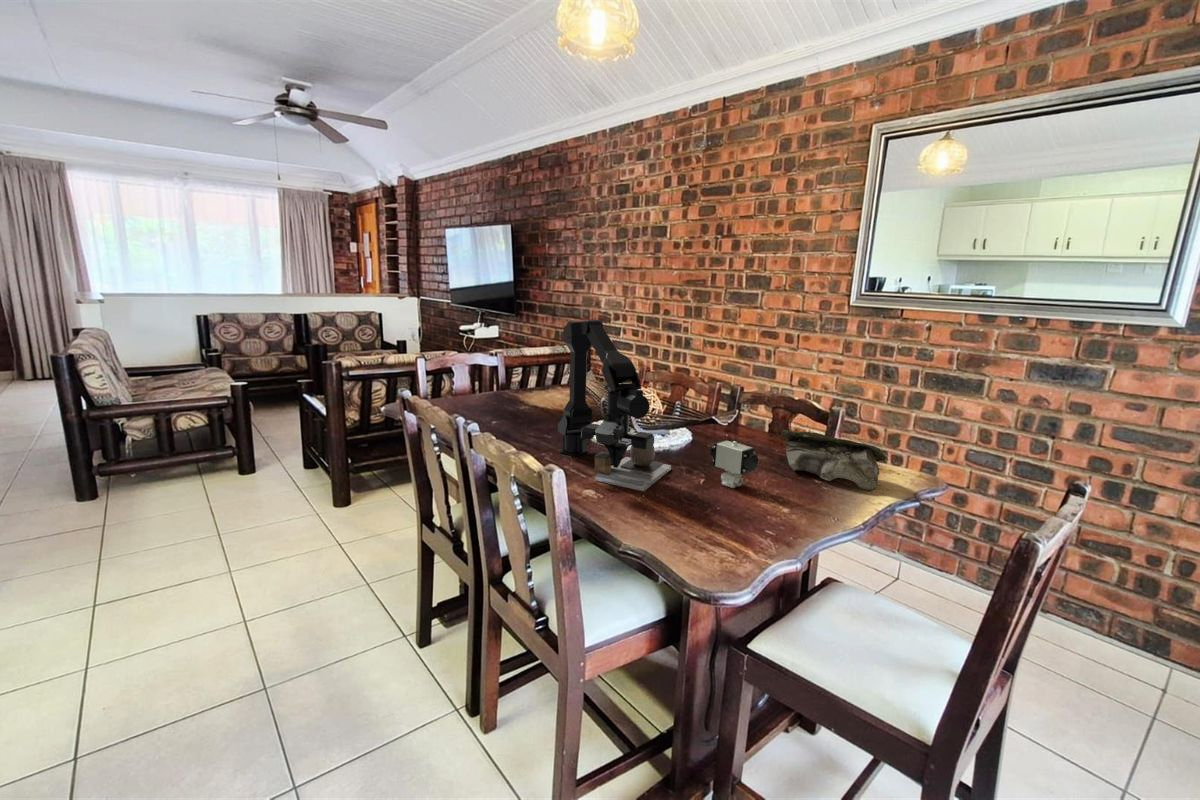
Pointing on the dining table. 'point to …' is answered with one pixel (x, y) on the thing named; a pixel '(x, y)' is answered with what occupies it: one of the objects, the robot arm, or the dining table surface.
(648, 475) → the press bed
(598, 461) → the brown block
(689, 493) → the dining table surface
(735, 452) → the pneumatic valve
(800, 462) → the hollow geode rock
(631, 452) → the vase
